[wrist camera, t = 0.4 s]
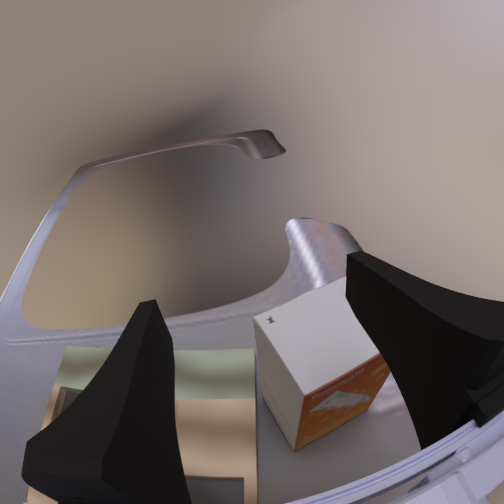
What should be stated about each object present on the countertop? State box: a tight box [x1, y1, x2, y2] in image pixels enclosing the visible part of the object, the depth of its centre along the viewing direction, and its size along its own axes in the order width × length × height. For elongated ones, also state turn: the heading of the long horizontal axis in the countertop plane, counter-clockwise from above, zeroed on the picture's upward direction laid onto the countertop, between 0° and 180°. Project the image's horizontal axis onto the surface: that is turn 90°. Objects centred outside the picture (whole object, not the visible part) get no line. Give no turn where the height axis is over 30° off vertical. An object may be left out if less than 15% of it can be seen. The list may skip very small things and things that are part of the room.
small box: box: [253, 276, 391, 451], centre depth 22 cm, size 8×6×13 cm
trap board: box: [27, 346, 258, 504], centre depth 22 cm, size 23×22×2 cm
